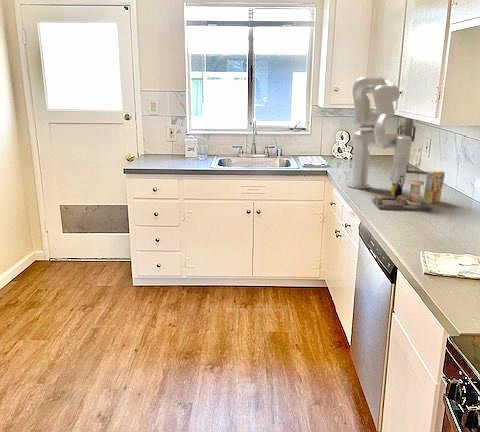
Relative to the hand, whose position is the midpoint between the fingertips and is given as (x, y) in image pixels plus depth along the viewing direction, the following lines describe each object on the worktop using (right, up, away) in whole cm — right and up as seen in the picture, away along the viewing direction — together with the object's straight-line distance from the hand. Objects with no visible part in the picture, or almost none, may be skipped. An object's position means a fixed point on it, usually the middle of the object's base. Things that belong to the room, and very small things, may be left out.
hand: (395, 195), depth 235 cm
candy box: (+17, -4, -3) cm, 18 cm away
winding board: (-2, -6, -13) cm, 15 cm away
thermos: (+28, +19, +73) cm, 81 cm away
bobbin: (+4, -5, -14) cm, 15 cm away
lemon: (0, -2, +1) cm, 2 cm away
